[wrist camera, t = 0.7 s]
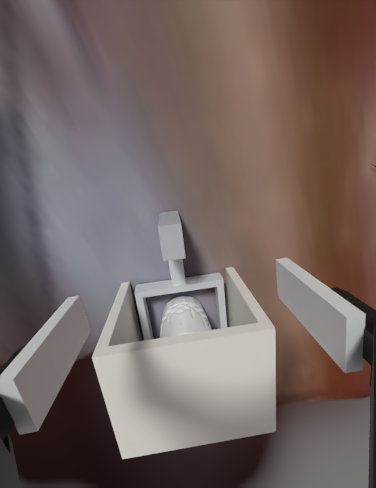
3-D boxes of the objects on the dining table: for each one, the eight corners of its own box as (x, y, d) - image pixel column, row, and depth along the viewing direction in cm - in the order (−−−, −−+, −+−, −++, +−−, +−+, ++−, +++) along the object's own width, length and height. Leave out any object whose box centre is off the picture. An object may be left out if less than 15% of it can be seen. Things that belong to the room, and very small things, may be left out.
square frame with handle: (122, 217, 33) (107, 233, 25) (214, 205, 34) (229, 216, 25) (150, 352, 40) (146, 400, 32) (225, 340, 41) (240, 384, 32)
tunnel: (121, 283, 36) (91, 357, 22) (232, 266, 37) (275, 328, 22) (138, 356, 40) (122, 459, 26) (237, 340, 41) (275, 431, 27)
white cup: (206, 332, 40) (218, 382, 31) (160, 334, 39) (158, 386, 30) (207, 290, 38) (221, 330, 28) (158, 292, 37) (155, 334, 28)
